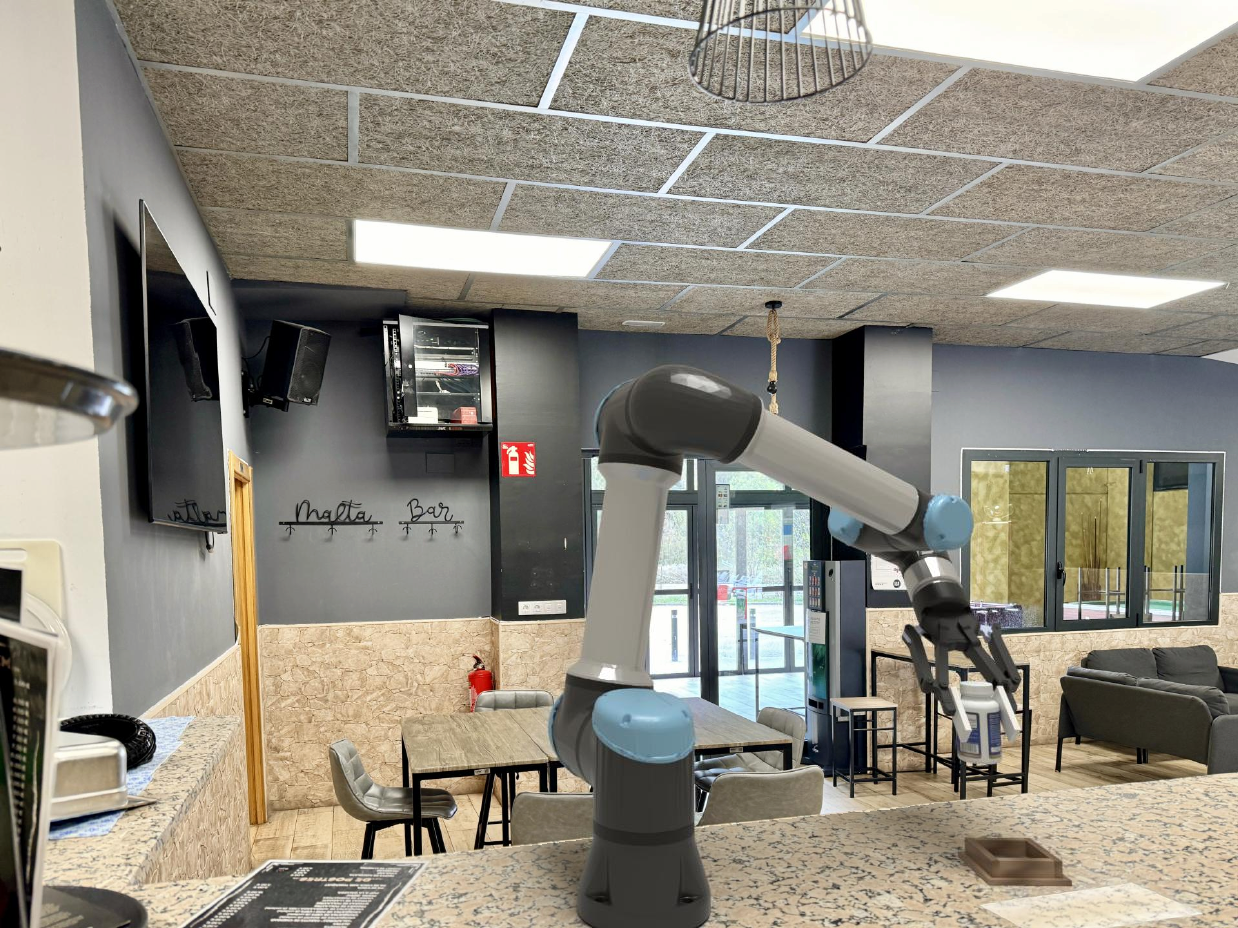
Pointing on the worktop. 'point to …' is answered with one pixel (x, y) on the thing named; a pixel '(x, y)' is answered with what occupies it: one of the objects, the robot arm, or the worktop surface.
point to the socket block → (1013, 862)
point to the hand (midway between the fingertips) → (990, 735)
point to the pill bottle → (980, 724)
